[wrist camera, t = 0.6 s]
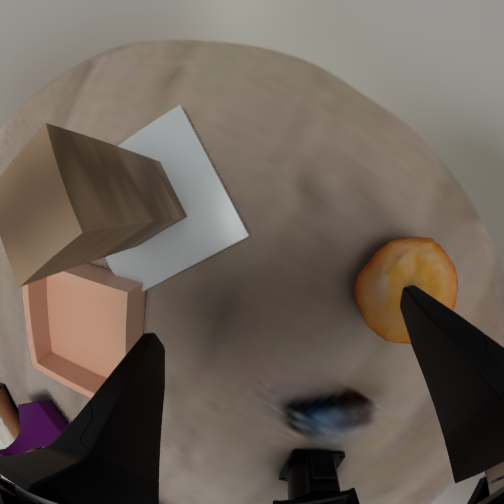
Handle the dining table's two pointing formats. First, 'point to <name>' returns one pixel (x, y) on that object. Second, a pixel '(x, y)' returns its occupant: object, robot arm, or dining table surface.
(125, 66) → the dining table surface
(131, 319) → the box
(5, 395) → the sunglasses case
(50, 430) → the perfume bottle
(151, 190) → the walnut block
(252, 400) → the dining table surface
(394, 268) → the fruit
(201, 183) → the light grey board
